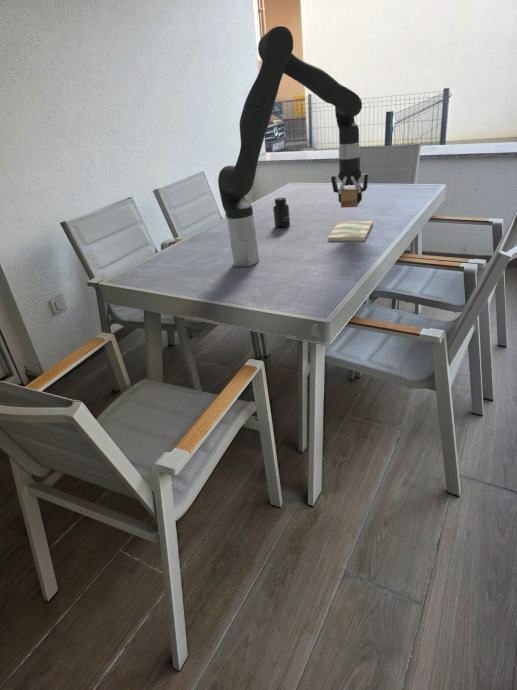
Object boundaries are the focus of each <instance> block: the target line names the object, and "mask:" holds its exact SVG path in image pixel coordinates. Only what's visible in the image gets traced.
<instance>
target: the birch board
mask: <svg viewBox="0 0 517 690" xmlns="http://www.w3.org/2000/svg"><path fill="white" fill-rule="evenodd" d="M373 224H374V221H373V220H365V221H363V220H362V221H359V220H358V221H354V220H353V221H338V222H337V223H336V225H335V227H334V228H333V229H332V231H331V232H330V233H329V235H328V236H327V242H365V241H366V240H367V238H368V236H369V233H370V231H371V229H372V227H373Z"/></svg>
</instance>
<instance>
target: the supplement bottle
mask: <svg viewBox="0 0 517 690" xmlns="http://www.w3.org/2000/svg"><path fill="white" fill-rule="evenodd" d="M272 211H273V222H274V223H273V224H274V227H275V229H285V228H289V227H290V226H291V221H290V218H291V217H290V206H289V205H288V204H287V199H286V197H277V198H275V199H274V206H273V207H272Z"/></svg>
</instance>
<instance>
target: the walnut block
mask: <svg viewBox="0 0 517 690" xmlns="http://www.w3.org/2000/svg"><path fill="white" fill-rule="evenodd" d="M359 205H360V203H358V191H357V189H356V188H355V186H351V187H350V186H349V187H344V189H343V190H341V203H340V207H341V208H357V207H358V206H359Z"/></svg>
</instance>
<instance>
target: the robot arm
mask: <svg viewBox="0 0 517 690" xmlns="http://www.w3.org/2000/svg"><path fill="white" fill-rule="evenodd" d="M293 49H294V37H293V34H292V32H291V30H290V29H289V28H288V27H287V26H284V25H277V26H274V27H272V28H270V30H268V31H267V32H266V33H265V34H264V35H263V36H261V38H260V40H259V42H258V45H257V52H258V55H259V58H260V59H261V60H262V62H261V66H260V69H259V71H258V74H257V77H256V78H255V80H254V82H253V84H252V86H251V88H250V90H249V92H248V93H247V96H246V98H245V101H244V103H243V104H244V105H243V107H242V112H241V115H240V120H239V136H240V149H239V154H238V156H237V160H236V164H235V165H226V166H224V167H223V168H222V169H221V170H220V172H219V174H218V177H217V179H218V180H217V183H218V190H219V195H220V201H221V204H222V208H223V210H224V212H225V214H226V220H227V227H228V233H229V240H230V247H231V253H232V254H231V255H232V260H233V266H234V267H243V268H245V267H248V268H249V267H251V266H253V265H256V264H258V263H259V262H260V257H259V250H258V243H257V234H256V226H255V218H254V217H255V216H254V211H253V206H252V204H251V203H250V202H249V201H248V200H247V199H246V197H245V196H247V195H248V194H250V192H251V190H252V189H253V186H254V182H255V178H256V173H257V168H258V167H257V166H258V162H259V158H260V153H261V150H262V147H263V143H264V140H265V136H266V133H267V130H268V127H269V124H270V120H271V117H272V114H273V111H274V105H275V104H276V100H277V95H278V92H279V88H280V84H281V81H282V78H283V76H284V75H286V76H288V77H290V78H291V79H293V80H294V81H296V82H297V83H299V84H301V85H302V86H303V87H305V88H307V90H309V91H310V92H311V93H313V94H314V95H316V96H317V97H318V98H319V99H321V100H322V101H324V102H325V103H327V104H330V105H332V106H334V107H335V108H334V111H335V118H336V125H337V127H338V143H339V147H338V163H339V165H338V169H339V172H338V174H333V175H332V176H331V177H330V179H331V185H332V190H333V193H337V195H338V202H339V203H340V204H341V190H343V189H344V188H346V187H345V186H353V187H355V188H356V189H357V191H358V203H359V204H360V203H361V202H362V200H363V192H366V191H367V189H368V183H369V177H370V176H369V175H370V174H369V173H368V172H366V173H362V171H361V150H360V149H361V147H360V129H359V128H360V127H359V125H358V124H356V122H355V121H356V120H355V117H356V116H358V115H359V114H360V112H361V111H362V109H363V102H362V98H361V97H360V96H359V95H358V94H357V93H356V92H354V91H353V90H351V89H350V88H348V87H346V86H345V85H342V84H341V83H339V82H338V81H337V80H336V79H335V78H333V77H332V76H331V75H330V74H329V73H328V72H326V71H325V70H323V69H322V68H319V67H317V66H315V65H313V64H311V63H308V62H306V61H304V60H302V59H300V58H299V57H298V56H296V55H295V54H293ZM360 178H361V179H362V181H363V186H361V183H360V181H359V180H360ZM338 179H339V180H340V182H341V183H340V186H338V183H337V182H338ZM338 187H339V188H338Z"/></svg>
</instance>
